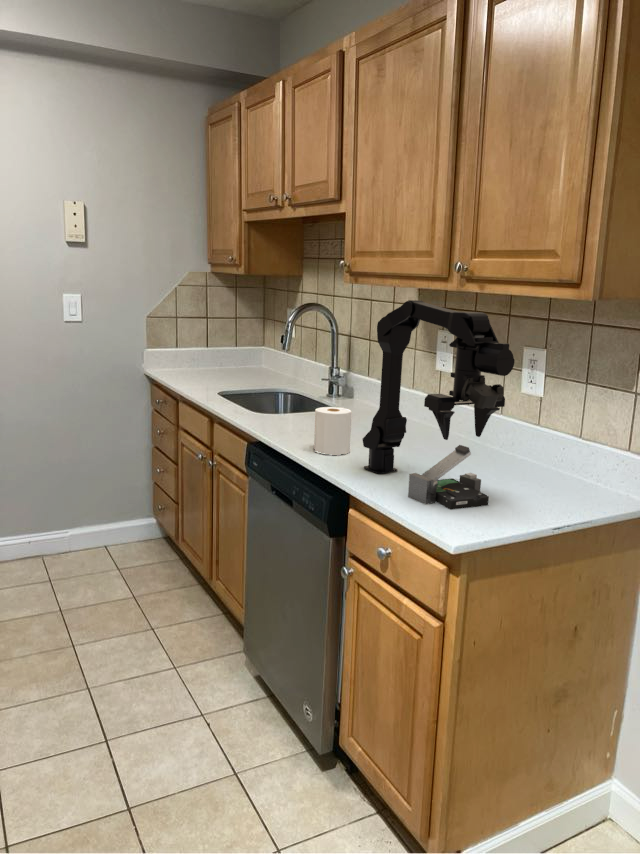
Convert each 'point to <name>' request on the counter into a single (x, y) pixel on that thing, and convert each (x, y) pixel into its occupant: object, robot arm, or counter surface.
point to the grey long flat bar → (448, 463)
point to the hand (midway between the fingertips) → (462, 438)
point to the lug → (471, 481)
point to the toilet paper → (332, 430)
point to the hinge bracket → (422, 488)
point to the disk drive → (458, 495)
